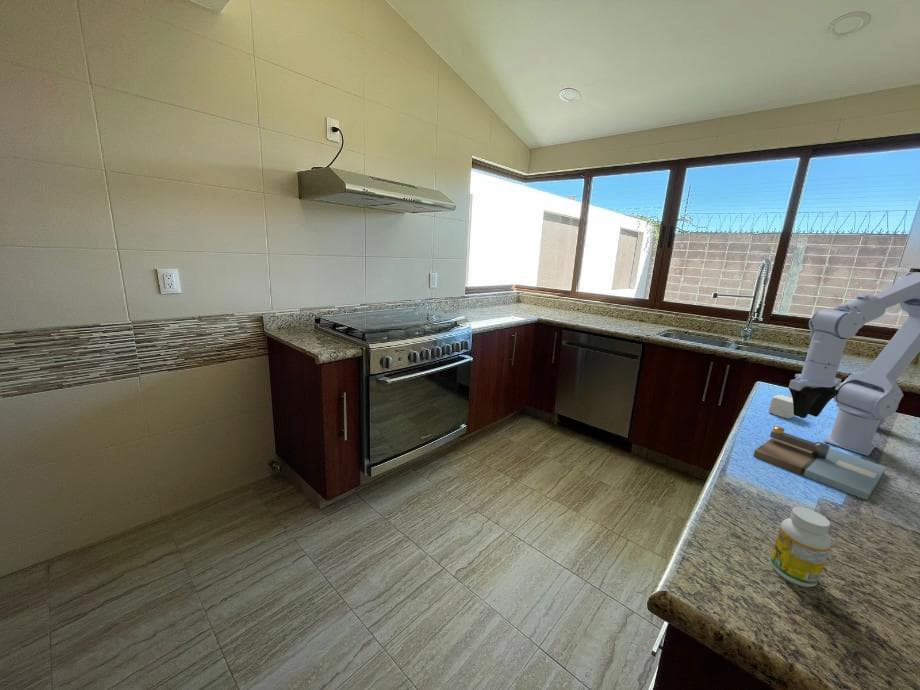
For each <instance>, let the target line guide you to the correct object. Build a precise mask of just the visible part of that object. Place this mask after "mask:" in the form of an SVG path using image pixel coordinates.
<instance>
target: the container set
mask: <svg viewBox="0 0 920 690" xmlns="http://www.w3.org/2000/svg"><path fill="white" fill-rule="evenodd" d="M768 413H769V414H772V415H775V416H777V417H782V418H784V419H787V420H789V419H791V418H793V417H795V415H794V411H793V399H792V395H791V394H790V396H786V395H782V394H776V395H773V396H772V398H771V401H770V404H769V408H768Z"/></svg>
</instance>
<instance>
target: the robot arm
mask: <svg viewBox="0 0 920 690" xmlns="http://www.w3.org/2000/svg"><path fill="white" fill-rule="evenodd" d="M896 305H899V306H900V308H901V310H902V311H905V313H907V314H908V317H907V318H906V319H905V321H904V322H903V323H902V325H901V326H900V327H899V329H897V331H896V333H895V334H894V335H893V337H891V339H890V340H889V341H888V343H887V344H886V345H885V347H884V348H883V349H882V351H881V352H880V353H879V354H878V355H877V357H875V359H874V360H873V363H871V364H870V366H869V367H868V368H867V370H866V371H862V372H857V373H852V374H849V375H848V377H847V378H846V379H845V380H844V381H843V382H842V378H838V377H837V376H836V375H837V373H838V369H839V367H840V363H841V360H842V357H843V354H844V352H845V349H846V345H847V341H848V339H849V338H852V337H854V336H855V335H856V334H857V333H858V331H859V330H860V329H862V328H863V326H864V325H865V324H867V323H869V322H872V321H874V320H877V319H879V318H880V317H883V315H885V313H886V309H888V308H891V307H894V306H896ZM808 328H809V330H810V331H809V336H808V337H809V339H810V343H809V346H808V349H807V354H806V357H805V360H804V363H803V367H802V370H801V373H795V375H794V379H790V380H789V385H788V390H789V392H790V396H791V395H792V399H793V411H794V415H795V416H796V417H798V418H801V419H806V417H807V416H808V415H810V416H813V417H816V418H817V417H818V416H819V415H820V414H821V413H822V411H823V410H824V408H825V407H826V405H828V403H829V402H831V400H832V399H833V400H834V402H835V403H836V407H837V408H839V409H838V411H837V414H836V417H835V421H834V423H833V427H832V430H831V433H830V434H829V435H828V436H826V438H824V439H823V443H827V444H830V445H833V446H836V447H840V448H841V449H845V450H848V451H851V452H854V453H858V454H860V455H863V456H867V457H869V456H870V455H871V453H872V452H873V450H874V449H875V447H876V446H877V445H876V444H875V443H873V441H874V438H875V436H876V433H877V430H878V428H879V427H878V425H879V422H880V419H885V420H886V419H887V418H889V417H891V416H893V415H894V414H895V412H896V411H897V410H898V408H899V404H900V402H901V400H902V398H903V397H904V393H903V391H902V389H901V388H900V386H899V385H898V384H897V383H896V381H897V380H898V379H899V378H900V377H901V375H902V374H903V373H904V372H905V371H906V369H907V368H908V367H909V365H910V364H911V363H912V361H914V359H915V358H916V357H917V355H918V354H919V353H920V273H919V272H913V271H909V272H906V273H904V274H903V275H900V276H897V279H896V280H895V281H894V284H892V285H890V286H889V287H887V288H885V289H883V290H881V291H880V292H878V293H876V294H874V295H873V294H859V295H857V296H856V297H855V298H854V299H851V300H850V301H847V302H845V303H841V304H839V305H838V306H836V307H834V308H833V309H832V308H831V309H830V308H823V309H821V310H818V311H817V312H815V313H814V314H812V316H811V318H810V319H809V321H808ZM833 387H835V388H833ZM795 416H794V417H795Z"/></svg>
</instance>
